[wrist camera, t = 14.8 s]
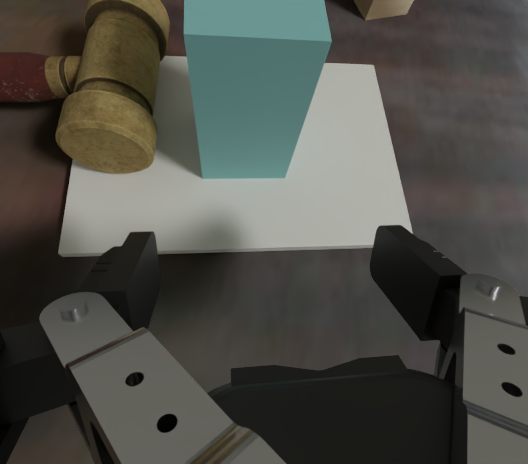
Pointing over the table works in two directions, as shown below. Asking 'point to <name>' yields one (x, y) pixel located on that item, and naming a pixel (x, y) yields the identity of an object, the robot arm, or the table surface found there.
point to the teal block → (252, 80)
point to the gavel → (100, 85)
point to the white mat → (248, 181)
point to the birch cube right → (382, 8)
